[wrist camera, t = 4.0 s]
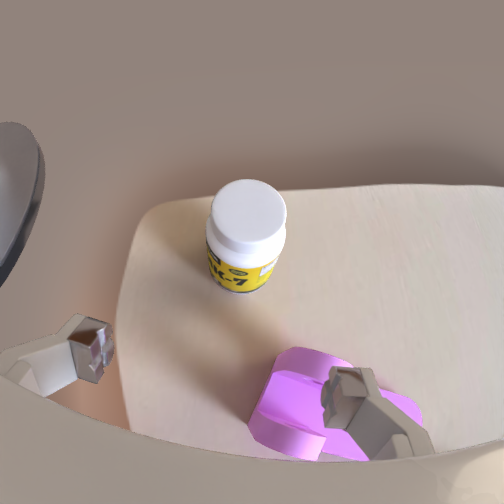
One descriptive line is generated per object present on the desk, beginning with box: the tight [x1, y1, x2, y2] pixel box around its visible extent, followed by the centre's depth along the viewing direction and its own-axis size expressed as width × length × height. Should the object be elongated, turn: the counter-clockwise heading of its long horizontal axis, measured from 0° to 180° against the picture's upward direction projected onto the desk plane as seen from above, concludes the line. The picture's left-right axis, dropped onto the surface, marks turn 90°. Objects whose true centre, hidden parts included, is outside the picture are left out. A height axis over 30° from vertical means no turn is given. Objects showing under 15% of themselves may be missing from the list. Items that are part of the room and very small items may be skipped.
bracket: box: [247, 347, 422, 461], centre depth 16 cm, size 13×6×7 cm, turn 67°
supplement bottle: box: [206, 179, 286, 294], centre depth 20 cm, size 5×5×8 cm
